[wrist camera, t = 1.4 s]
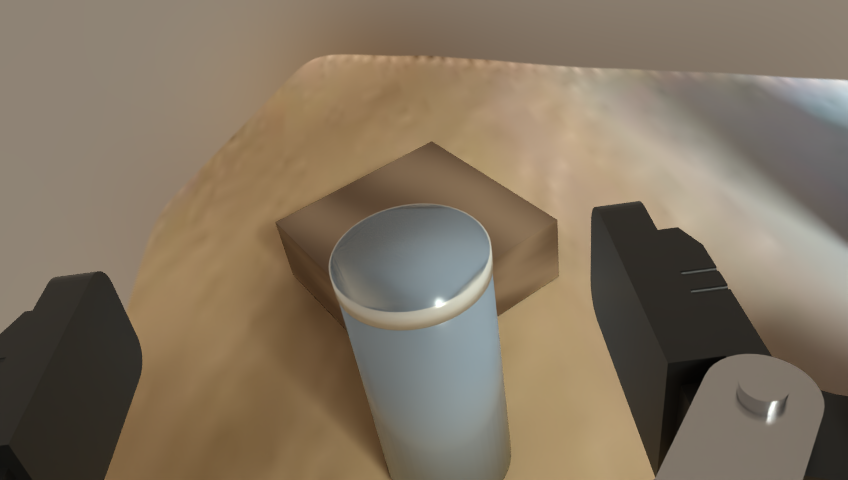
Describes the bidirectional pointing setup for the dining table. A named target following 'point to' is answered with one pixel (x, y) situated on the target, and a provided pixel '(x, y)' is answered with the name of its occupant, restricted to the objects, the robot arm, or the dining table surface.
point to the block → (430, 184)
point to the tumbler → (426, 340)
